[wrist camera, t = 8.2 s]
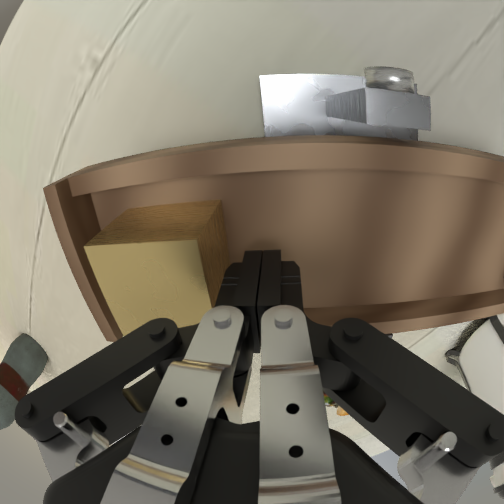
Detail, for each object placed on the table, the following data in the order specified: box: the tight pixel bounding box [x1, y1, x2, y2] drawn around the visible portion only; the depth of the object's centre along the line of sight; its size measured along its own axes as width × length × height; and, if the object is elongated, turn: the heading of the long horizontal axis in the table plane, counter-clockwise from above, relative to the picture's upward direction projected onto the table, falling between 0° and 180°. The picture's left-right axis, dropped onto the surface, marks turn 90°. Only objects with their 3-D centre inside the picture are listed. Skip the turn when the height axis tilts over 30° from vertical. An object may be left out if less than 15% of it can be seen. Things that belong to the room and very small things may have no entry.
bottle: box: [0, 334, 48, 430], centre depth 29 cm, size 9×9×30 cm
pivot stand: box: [260, 67, 431, 339], centre depth 16 cm, size 12×18×11 cm, turn 5°
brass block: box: [84, 200, 231, 336], centre depth 12 cm, size 5×5×4 cm
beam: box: [43, 135, 504, 342], centre depth 12 cm, size 32×10×4 cm, turn 95°
